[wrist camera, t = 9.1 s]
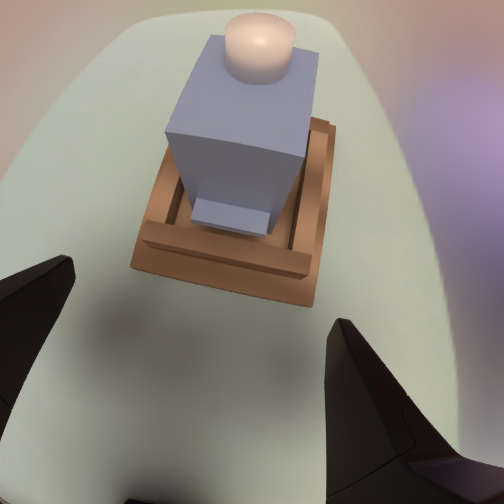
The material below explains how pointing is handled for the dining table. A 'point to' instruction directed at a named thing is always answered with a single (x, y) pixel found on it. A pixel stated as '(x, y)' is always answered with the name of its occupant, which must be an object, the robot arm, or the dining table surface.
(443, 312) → the dining table surface
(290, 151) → the block
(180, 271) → the wooden socket base
